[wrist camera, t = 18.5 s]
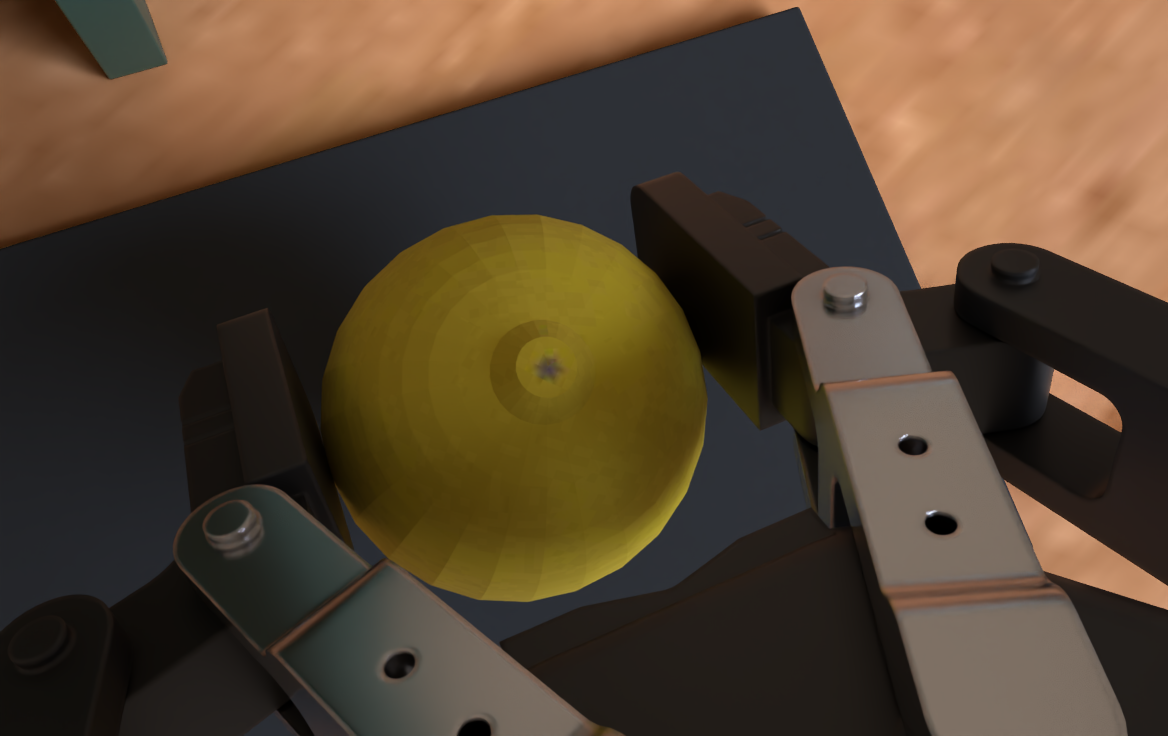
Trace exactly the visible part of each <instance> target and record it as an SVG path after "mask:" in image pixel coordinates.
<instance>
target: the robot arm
mask: <svg viewBox="0 0 1168 736" xmlns="http://www.w3.org/2000/svg"><path fill="white" fill-rule="evenodd" d="M630 202H631V210H632V218H633V225H634V233H635V241H636V248H637V256H638V259H640V260H641V261H642V262H643V263H644V264H646V265H647V266H648V267H649V268H650V269H652V270H653V271H654V272H655V273H656V274H657V275H658V276H659V278H660V279H661V281H662V282H663V283H664V285H665V286H666V287H667V289H668V290H669V292H670V293H671V294H672V296H673V297H674V298H675V300H676V301H677V302H678V304H679V305H680V307H681V308H682V309H683V311H684V314H685V316H686V318H687V321H688V323H689V326H690V328H691V330H692V333H693V335H694V338H695V340H696V342H697V345H698V347H699V350H700V353H701V359H702V365H703V366H704V367H705V368H706V370H707V371H708V372H709V373H710V374H711V375H712V376H713V378H714V379H715V380H716V381H717V382H718V383H719V384H720V386H721V387H722V388H723V389H724V390H725V391H726V392H727V394H728V395H729V396H730V397H731V398H732V399H733V400H734V402H735V403H736V404H737V405H738V406H739V407H740V408H741V410H742V411H743V412H744V413H745V414H746V415H747V416H748V418H749V419H750V420H751V421H752V422H753V423H754V424H755V426H756V427H757V428H758V429H759V430H760V431H761V430H764V429H766V428H768V427H771V426H773V425H776V424H778V423H781V422H783V421H786V420H787V421H788V422H789V424H790V425H791V426H792V427H793V446H794V454H795V458H796V463H797V467H798V472H799V476H800V481H801V486H802V490H803V495H804V499H805V504H806V508H807V509H806V510H803V511H801V512H799V513H797V514H794V515H792V516H790V517H787V518H785V519H783V520H780V521H778V522H776V523H773V524H771V525H769V526H766V527H764V528H762V529H759V530H757V531H755V532H752V533H750V534H748V535H746V536H743V537H741V538H739V539H737V540H736V541H735V542H733V543H732V544H731V545H729V546H728V547H727V548H725V549H724V550H723V551H721V552H720V553H719V554H717V555H716V556H715V557H713V558H712V559H711V560H709V561H708V562H707V563H705V564H704V565H703V566H701V567H700V568H699V569H697V570H696V571H695V572H693V573H692V574H691V575H689V576H688V577H687V578H685V579H684V580H683V581H681V582H680V583H678V584H677V585H675V586H674V587H671V588H669V589H666V590H662V591H657V592H652V593H647V594H642V595H637V596H632V597H627V598H622V599H617V600H612V601H607V602H602V603H597V604H592V605H587V606H582V607H579V608H576V609H574V610H572V611H569V612H567V613H565V614H562V615H560V616H558V617H555V618H553V619H551V620H548V621H546V622H544V623H541V624H539V625H537V626H534V627H532V628H530V629H528V630H525V631H523V632H521V633H518V634H516V635H514V636H511V637H509V638H507V639H504V640H502V641H500V642H499V643H500V646H501V648H500V647H499V646H497V645H496V644H495V643H494V642H492V641H491V640H490V639H489V638H488V637H486V636H485V635H484V634H483V633H481V632H480V631H479V630H478V629H477V628H475V627H474V626H473V625H472V624H470V623H469V622H468V621H467V620H466V619H464V618H463V617H462V616H461V615H459V614H458V613H457V612H456V611H455V610H453V609H452V608H451V607H450V606H448V605H447V604H446V603H445V602H444V601H442V600H441V599H440V598H439V597H437V596H436V595H435V594H434V593H432V592H431V591H430V590H429V589H428V588H426V587H425V586H424V585H423V584H421V583H420V582H419V581H418V580H417V579H415V578H414V577H413V576H412V575H410V574H409V573H408V572H407V571H406V570H404V569H403V568H402V567H401V566H399V565H398V564H397V563H395V562H393V561H392V560H390V559H387V558H383V559H381V560H380V561H378V562H377V563H376V564H375V565H373V566H372V565H370V564H369V563H368V562H366V561H365V560H364V559H363V558H362V557H360V556H359V555H358V554H357V553H356V552H355V551H354V547H353V544H352V540H351V537H350V533H349V530H348V527H347V523H346V520H345V516H344V513H343V509H342V506H341V503H340V499H339V496H338V492H337V489H336V485H335V482H334V480H333V477H332V474H331V471H330V468H329V464H328V460H327V456H326V452H325V448H324V444H323V441H322V437H321V434H320V431H319V428H318V425H317V422H316V419H315V416H314V413H313V411H312V408H311V405H310V403H309V400H308V398H307V395H306V393H305V390H304V388H303V386H302V383H301V381H300V379H299V376H298V374H297V372H296V369H295V367H294V365H293V362H292V360H291V358H290V355H289V353H288V351H287V348H286V346H285V344H284V341H283V339H282V337H281V334H280V332H279V330H278V327H277V325H276V323H275V320H274V318H273V316H272V314H271V312H270V310H269V309H268V308H265V309H262V310H259V311H256V312H253V313H250V314H247V315H244V316H241V317H238V318H235V319H232V320H229V321H226V322H223V323H221V324H218V325H217V333H218V338H219V344H220V349H221V355H222V361H219V362H216V363H213V364H210V365H207V366H204V367H202V368H199V369H196V370H193V371H191V373H190V375H189V377H188V379H187V381H186V383H185V385H184V387H183V389H182V391H181V393H180V395H179V397H178V399H179V408H180V417H181V423H182V425H183V426H182V435H183V442H184V445H185V446H184V454H185V463H186V472H187V482H188V491H189V500H190V509H191V514H190V515H189V516H188V517H187V518H186V520H185V521H184V522H183V523H182V525H181V526H180V528H179V530H178V531H177V534H176V536H175V538H174V543H173V556H174V560H173V561H172V562H171V563H170V564H169V565H168V566H167V567H166V569H164V570H163V571H162V572H161V573H160V574H159V575H157V576H156V577H155V578H154V579H152V580H151V581H149V582H148V583H147V584H145V585H144V586H142V587H141V588H139V589H138V590H136V591H134V592H133V593H131V594H130V595H128V596H127V597H125V598H124V599H122V600H121V601H119V602H118V603H116V604H114V605H113V606H111V607H110V608H109V607H108V606H107V605H106V604H105V603H104V602H103V601H101V600H100V599H98V598H96V597H93V596H90V595H82V594H77V595H67V596H62V597H58V598H55V599H51V600H48V601H46V602H44V603H41V604H39V605H37V606H35V607H33V608H31V609H30V610H28V611H26V612H24V613H23V614H21V615H20V616H19V617H17V618H16V619H14V620H13V621H12V622H11V623H9V624H8V625H7V626H6V627H5V628H4V629H3V630H2V631H1V632H0V736H243V735H244V734H246V733H247V732H248V731H250V730H251V729H252V728H254V727H255V726H256V725H258V724H259V723H260V722H261V721H263V720H264V719H265V718H267V717H268V716H269V715H271V714H272V713H274V715H275V716H276V717H277V718H278V719H279V720H280V721H281V722H282V724H283V725H284V726H285V727H286V728H287V729H288V730H289V731H290V733H291V734H292V735H293V736H1168V610H1166V609H1163V608H1160V607H1157V606H1153V605H1150V604H1147V603H1144V602H1141V601H1137V600H1134V599H1131V598H1128V597H1125V596H1121V595H1118V594H1115V593H1112V592H1109V591H1105V590H1102V589H1099V588H1096V587H1093V586H1090V585H1086V584H1083V583H1080V582H1077V581H1074V580H1070V579H1067V578H1064V577H1061V576H1058V575H1054V574H1051V573H1048V572H1045V571H1043V570H1042V568H1041V566H1040V563H1039V561H1038V559H1037V557H1036V554H1035V552H1034V550H1033V548H1032V545H1031V543H1030V541H1029V539H1028V536H1027V534H1026V532H1025V530H1024V527H1023V525H1022V523H1021V521H1020V518H1019V516H1018V514H1017V512H1016V509H1015V507H1014V505H1013V503H1012V501H1011V498H1010V496H1009V494H1008V492H1007V489H1006V487H1005V485H1004V483H1003V480H1002V478H1003V479H1004V480H1006V481H1007V482H1009V483H1010V484H1012V485H1013V486H1015V487H1016V488H1018V489H1020V490H1021V491H1023V492H1024V493H1026V494H1027V495H1029V496H1030V497H1032V498H1033V499H1035V500H1036V501H1038V502H1040V503H1041V504H1043V505H1044V506H1046V507H1047V508H1049V509H1050V510H1052V511H1053V512H1055V513H1056V514H1058V515H1060V516H1061V517H1063V518H1064V519H1066V520H1067V521H1069V522H1070V523H1072V524H1073V525H1075V526H1077V527H1078V528H1080V529H1081V530H1083V531H1084V532H1086V533H1087V534H1089V535H1090V536H1092V537H1093V538H1095V539H1097V540H1098V541H1100V542H1101V543H1103V544H1104V545H1106V546H1107V547H1109V548H1110V549H1112V550H1114V551H1115V552H1117V553H1118V554H1120V555H1121V556H1123V557H1124V558H1126V559H1127V560H1129V561H1130V562H1132V563H1134V564H1135V565H1137V566H1138V567H1140V568H1141V569H1143V570H1144V571H1146V572H1147V573H1149V574H1150V575H1152V576H1154V577H1155V578H1157V579H1158V580H1160V581H1161V582H1163V583H1164V584H1166V585H1167V586H1168V303H1167V302H1165V301H1163V300H1160V299H1158V298H1156V297H1153V296H1151V295H1149V294H1147V293H1144V292H1142V291H1140V290H1137V289H1135V288H1133V287H1130V286H1128V285H1126V284H1124V283H1121V282H1119V281H1117V280H1114V279H1112V278H1110V277H1107V276H1105V275H1103V274H1101V273H1098V272H1096V271H1094V270H1091V269H1089V268H1087V267H1084V266H1082V265H1080V264H1078V263H1075V262H1073V261H1071V260H1068V259H1066V258H1064V257H1061V256H1059V255H1057V254H1055V253H1052V252H1050V251H1048V250H1045V249H1042V248H1039V247H1035V246H1031V245H1025V244H1016V243H1000V244H992V245H987V246H983V247H980V248H977V249H975V250H973V251H970V252H969V253H967V254H966V255H965V256H964V257H963V258H962V259H961V260H960V262H959V263H958V267H957V274H956V283H955V284H952V285H945V286H938V287H931V288H923V289H916V290H908V291H899V290H898V288H897V286H896V285H895V284H894V283H893V282H892V281H891V280H890V279H889V278H887V277H886V276H884V275H882V274H880V273H878V272H875V271H873V270H869V269H865V268H859V267H846V266H843V267H832V268H830V267H829V266H828V265H827V264H825V263H824V262H823V261H822V260H820V259H819V258H818V257H817V256H815V255H814V254H813V253H812V252H811V251H809V250H808V249H807V248H806V247H804V246H803V245H802V244H801V243H799V242H798V241H797V240H796V239H794V238H793V237H792V236H791V235H789V234H788V233H787V232H783V231H782V228H781V227H780V226H778V225H777V224H776V223H775V222H773V221H772V220H771V219H769V220H768V219H767V216H766V215H765V214H764V213H762V212H761V211H760V210H759V209H757V208H756V207H755V206H754V205H752V204H751V203H750V202H749V201H747V200H744V199H741V198H738V197H735V196H732V195H729V194H726V193H723V192H720V191H717V192H715V193H712V194H709V195H707V194H706V193H705V192H703V191H702V190H701V189H700V188H699V187H698V186H696V185H695V184H694V183H693V182H692V181H691V180H689V179H688V178H687V177H686V176H685V175H684V174H682V173H681V172H674V173H671V174H668V175H665V176H662V177H659V178H656V179H653V180H650V181H647V182H644V183H641V184H638V185H635V186H633V187H632V189H631V194H630ZM1054 369H1055V370H1057V371H1059V372H1061V373H1063V374H1065V375H1067V376H1068V377H1070V378H1072V379H1074V380H1076V381H1078V382H1080V383H1082V384H1083V385H1085V386H1087V387H1089V388H1091V389H1093V390H1095V391H1097V392H1099V393H1100V394H1102V395H1104V396H1105V397H1106V398H1107V399H1109V400H1110V401H1111V402H1112V403H1113V405H1114V406H1115V407H1116V409H1117V410H1118V412H1119V414H1120V416H1121V420H1122V432H1119V431H1117V430H1115V429H1113V428H1112V427H1110V426H1108V425H1106V424H1104V423H1102V422H1101V421H1099V420H1097V419H1095V418H1093V417H1092V416H1090V415H1088V414H1086V413H1084V412H1083V411H1081V410H1079V409H1077V408H1075V407H1074V406H1072V405H1070V404H1068V403H1066V402H1064V401H1063V400H1061V399H1059V398H1057V397H1055V396H1054V395H1052V394H1050V393H1049V391H1050V386H1051V381H1052V376H1053V371H1054Z"/></svg>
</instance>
